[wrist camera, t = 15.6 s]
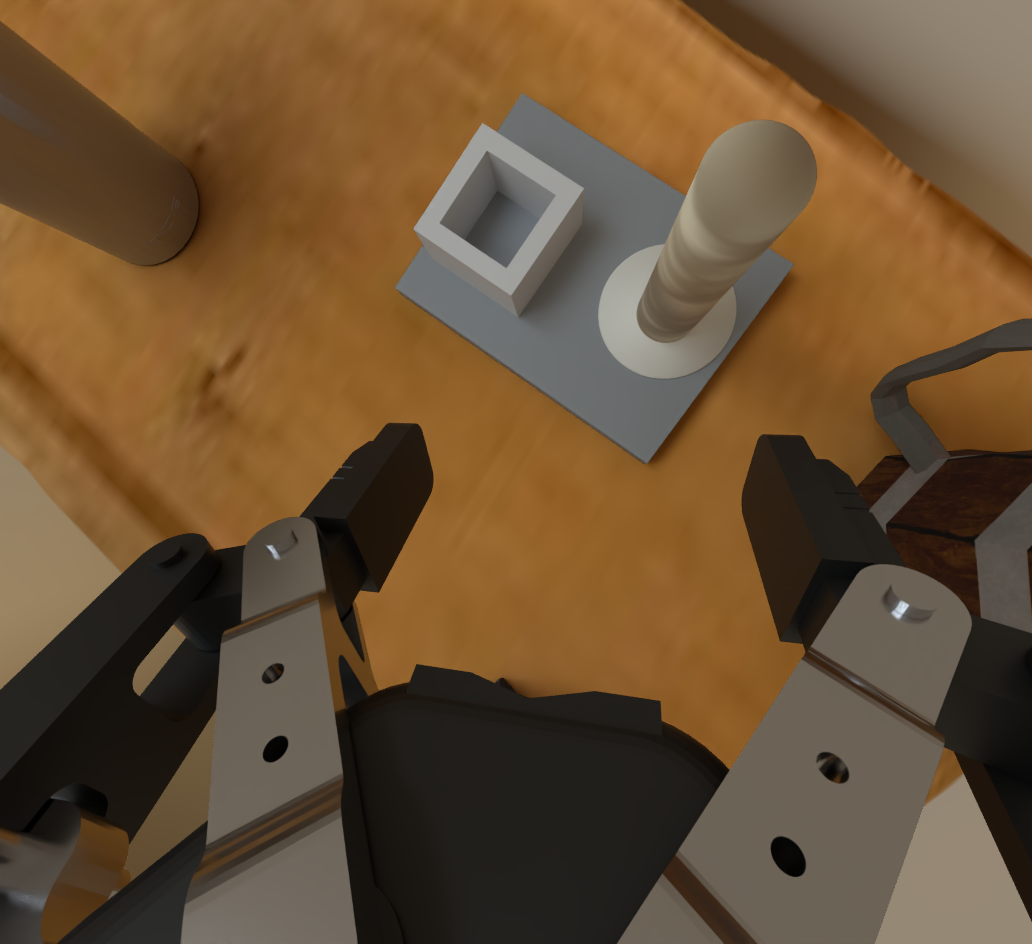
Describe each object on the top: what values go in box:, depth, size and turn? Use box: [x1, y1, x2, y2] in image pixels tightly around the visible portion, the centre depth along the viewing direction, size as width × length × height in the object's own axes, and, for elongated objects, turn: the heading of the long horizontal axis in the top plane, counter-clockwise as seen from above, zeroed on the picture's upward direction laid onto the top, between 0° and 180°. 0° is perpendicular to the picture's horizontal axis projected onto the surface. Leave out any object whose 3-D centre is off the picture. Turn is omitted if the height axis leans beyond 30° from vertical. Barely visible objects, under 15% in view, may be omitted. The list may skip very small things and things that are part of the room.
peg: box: [636, 120, 817, 343], centre depth 22 cm, size 4×4×14 cm
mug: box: [857, 319, 1032, 633], centre depth 22 cm, size 20×14×15 cm
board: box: [395, 93, 794, 463], centre depth 29 cm, size 22×16×6 cm
